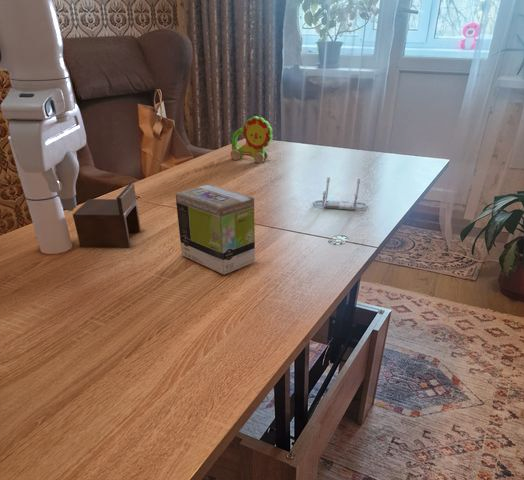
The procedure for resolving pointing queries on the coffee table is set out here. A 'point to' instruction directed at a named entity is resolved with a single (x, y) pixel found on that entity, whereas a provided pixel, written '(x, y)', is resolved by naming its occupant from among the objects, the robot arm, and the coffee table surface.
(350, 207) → the wall mount rack
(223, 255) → the tea box
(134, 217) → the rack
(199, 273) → the coffee table surface
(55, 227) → the cylindrical container
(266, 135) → the toy lion
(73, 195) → the lightbulb
